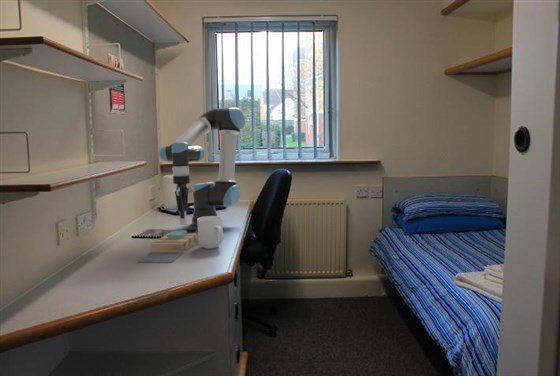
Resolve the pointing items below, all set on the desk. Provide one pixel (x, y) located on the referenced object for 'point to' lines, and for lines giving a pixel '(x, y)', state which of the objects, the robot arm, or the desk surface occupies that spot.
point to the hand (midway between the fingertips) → (183, 224)
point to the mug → (210, 231)
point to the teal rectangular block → (176, 234)
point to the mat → (161, 257)
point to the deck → (174, 244)
